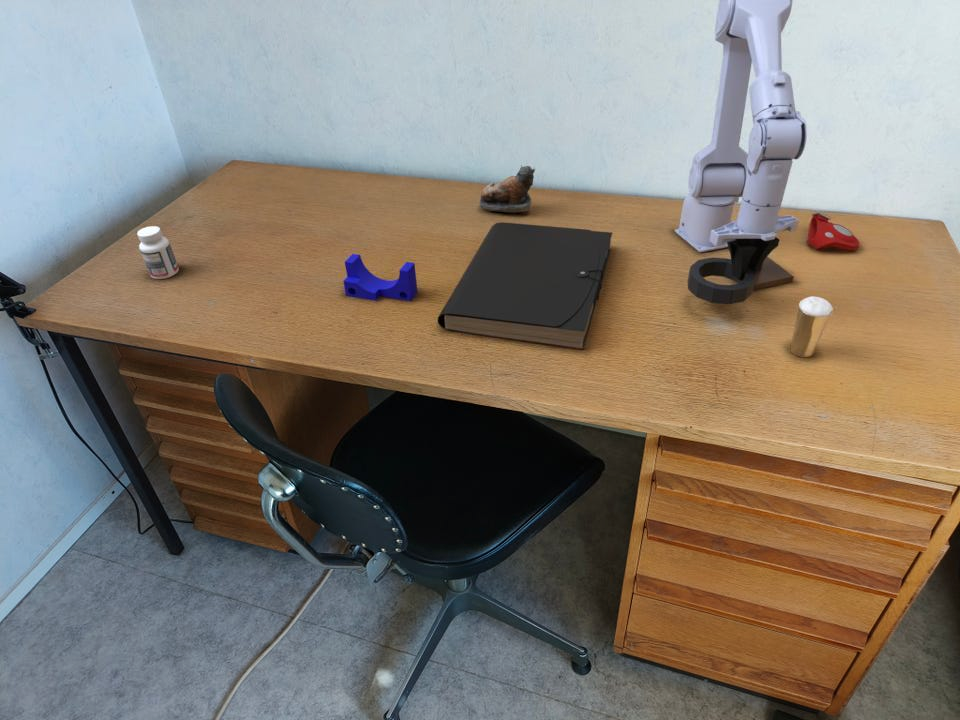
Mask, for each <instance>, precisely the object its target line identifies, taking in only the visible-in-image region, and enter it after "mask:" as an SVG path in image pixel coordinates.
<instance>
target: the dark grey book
mask: <svg viewBox="0 0 960 720" xmlns="http://www.w3.org/2000/svg"><path fill="white" fill-rule="evenodd" d="M612 237H613V232H612V231H598V230H591V229H584V228H573V227H563V226H550V225H539V224H538V225H537V224H528V223H527V224H526V223H515V222H503V221H501V222H500V221H499V222H496V223H494V224H493V225H492V226H491V227H490V228H489V230H488V232H487V234H486V236H485V237H484V239H483V241H482V242H481V244H480V245H479V247H478V248H477V250H476V253H475V254H474V256H473V257H472V259H471V261H470V262H469V264H468V266H467V267H466V269H465V271H464V273H463V274H462V276H461V277H460V280H459V281H458V283H457V284H456V286H455V288H454V289H453V291H452V293H451V294H450V296H449V298H448V300H447V301H446V303H445V305H444V306H443V308H442V309H441V311H440V313H439V315H438V316H437V323H438V325H439V326H440V328H441V329H443V330H446V331H448V332H454V333H460V334H461V333H462V334H468V335H476V336H483V337H490V338H497V339H505V340H511V341H519V342H525V343H534V344H541V345H549V346H555V347H563V348H569V349H570V348H571V349H575V350H576V349H577V350H585V346H586V342H587V338H588V335H589V331H590V327H591V324H592V320H593V316H594V314H595V313H594V312H595V309H596V306H597V302H598V301H599V298H600V291H601V290H602V286H603V280H604V276H605V273H606V269H607V266H608V262H609V260H610V259H609V258H610V255H611V251H612V248H611V242H612Z"/></svg>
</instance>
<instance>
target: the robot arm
mask: <svg viewBox="0 0 960 720" xmlns="http://www.w3.org/2000/svg"><path fill="white" fill-rule="evenodd" d="M792 8H793V0H719V1H718V4H717V10H716V11H717V12H716V19H715V27H714V35H715V36H714V40H715V42H718V43H719V44H722V61H721V67H720V75H719V81H718V88H717V89H718V90H717V98H716V103H715V111H714V119H713V126H712V133H711V142H710V143H709V144H708V145H706V146H705V147H703V148H701V150H699V151H698V152H696V153H695V154H694V155H693V158H692V163H691V167H690V169H689V174H688V192H689V193H687V195H686V197H685V198H684V200H683V203H682V209H681V215H680V220H679V226H678V228H675V229H674V232H675V234H677V235H678V236H679V237H681V238H682V239H683V240H684V241H685V242H686V243H688V244H689V245H690V246H691V247H693V248H694V249H695V250H696V251H697V252H699V253H705V252H709V251H715V250H720V249H721V250H722V249H725V248H728V251H729V255H730V259H731V262H732V275H733V276H734V277H736V278H737V279H738V280H742V279H743V278H744V276H745V273H746V269H747V267H749V268H750V269H751V270H752V271H754V275H755V274H756V272H757V271H758V269H759V267H760V266H761V264H762V263H763V261H764V260H765V258H766V257H768V256H769V255H770V254H771V253H772V252H773V251H774V250H775V249H776V248H778V247H779V244H780V239H779V238H778V237H777V234H778V233H780V232H785V231H787V232H790V233H791V232H796V231H797V227H798V224H799V219H798V218H796V217H794V216H793V215H791V214H789V215H779V214H780V211H781V206H782V202H783V199H784V195H785V192H786V188H787V185H788V181H789V177H790V173H791V169H792V166H793V163H794V161H793V160H798V159H800V157H801V156H802V155H803V153H804V151H805V148H806V144H807V136H808V129H807V127H808V126H807V122H806V120H805V119H806V118H804V117H802V115H801V112H800V111H797V110H796V105H795V98H794V91H793V90H794V89H793V81H792V78H791V77H792V76H791V75H790V74H789V73H788V72H785V71H783V70H782V69H783V64H782V63H783V62H782V61H783V60H782V33H783V31H784V29H785V27H786V25H787V22H788V20H789V18H790V16H791V12H792ZM752 67H753V72H754V77H755V78H754V79H753V80H752V81H751V84H750V85H749V82H750V77H751V69H752ZM748 92H749V98H750V108H751V118H752V127H751V129H750V132H749V136H748V152H747V151H745V150H744V149H743V148H742V147H741V146H740V141H741V137H742V136H741V135H742V129H743V122H744V115H745V110H746V103H747V96H748ZM740 198H741V201H740V206H739V209H738V213H737V217H736V219H735V220H733V221H731V220H732V216H733V212H734V207H735V204H736V203H739V199H740Z"/></svg>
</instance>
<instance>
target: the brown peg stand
mask: <svg viewBox="0 0 960 720" xmlns="http://www.w3.org/2000/svg"><path fill="white" fill-rule="evenodd" d="M793 280H794V275H793V274H791V273H790V272H788V271H787V270H786V269H785V268H783V267H782V266H780V265H779V264H778V263H777V262H775V261H774V260H773V259H771V258H770V257H768V256H767V257H766V258H765V260H764V261H763V263H762V264H761V266H760V267H759V269H758V271H757V272H756V274H755V283H754V287H753V291H757V290H762V289H766V288H770V287H775V286H780V285H785V284H789V283H793Z"/></svg>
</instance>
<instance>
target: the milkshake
mask: <svg viewBox="0 0 960 720" xmlns="http://www.w3.org/2000/svg"><path fill="white" fill-rule="evenodd" d="M838 307H839V305H837V306H836V307H835V308H834V307H833V306H832V304H831V302H830V301H828V300H826V299H825V298H823V297H821V296H814V295H811V296H808V297H805V298H803V299H802V300H800V302H799V304H798V309H797V313H796V318H795V323H794V327H793V332H792V336H791V341H790V345H789V350H790V352H791V353H792V354H793V355H795V356H796V357H801V358H809V357H811V356H812V355H813V354H814V352H815V350H816V348H817V346H818V343H819V341H820V339H821V337H822V335H823V332H824V330H825V328H826V327H827V325H828V323H829V320H830V319H831V317H832V314H833V312H834V311H835V310H837V308H838Z"/></svg>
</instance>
